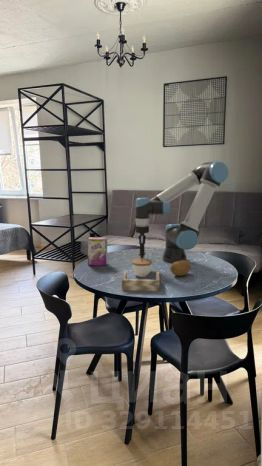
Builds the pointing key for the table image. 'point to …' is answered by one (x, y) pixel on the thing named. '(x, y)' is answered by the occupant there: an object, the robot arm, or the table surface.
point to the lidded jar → (141, 267)
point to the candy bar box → (97, 251)
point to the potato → (180, 267)
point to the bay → (140, 284)
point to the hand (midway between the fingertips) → (142, 266)
